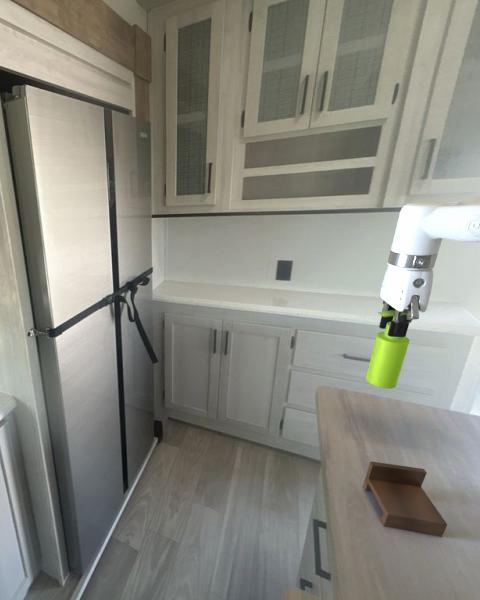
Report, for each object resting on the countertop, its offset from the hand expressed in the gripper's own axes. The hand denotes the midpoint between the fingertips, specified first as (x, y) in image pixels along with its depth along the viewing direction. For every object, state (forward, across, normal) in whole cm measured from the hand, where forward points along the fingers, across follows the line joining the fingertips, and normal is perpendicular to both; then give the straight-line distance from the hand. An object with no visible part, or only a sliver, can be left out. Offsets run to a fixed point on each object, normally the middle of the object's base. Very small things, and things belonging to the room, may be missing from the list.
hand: (391, 331), depth 80 cm
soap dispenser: (+15, 0, 0) cm, 15 cm away
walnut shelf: (+29, -28, +5) cm, 40 cm away
